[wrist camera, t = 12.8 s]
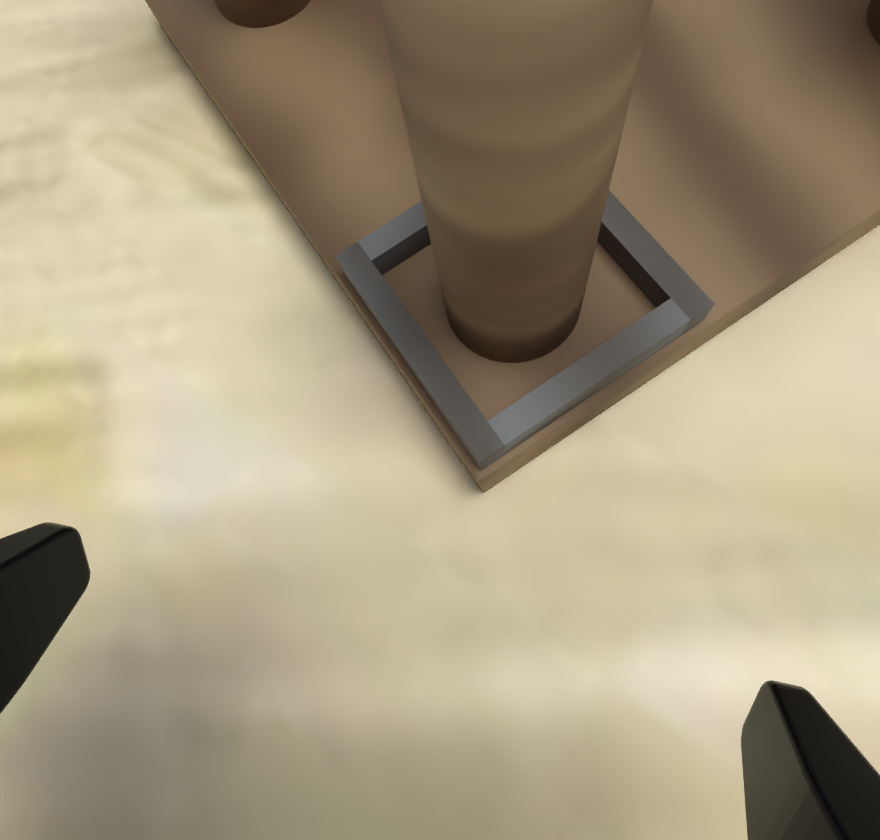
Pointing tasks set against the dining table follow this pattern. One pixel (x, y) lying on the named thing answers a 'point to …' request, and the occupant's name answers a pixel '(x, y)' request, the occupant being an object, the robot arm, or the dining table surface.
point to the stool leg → (514, 152)
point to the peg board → (627, 206)
